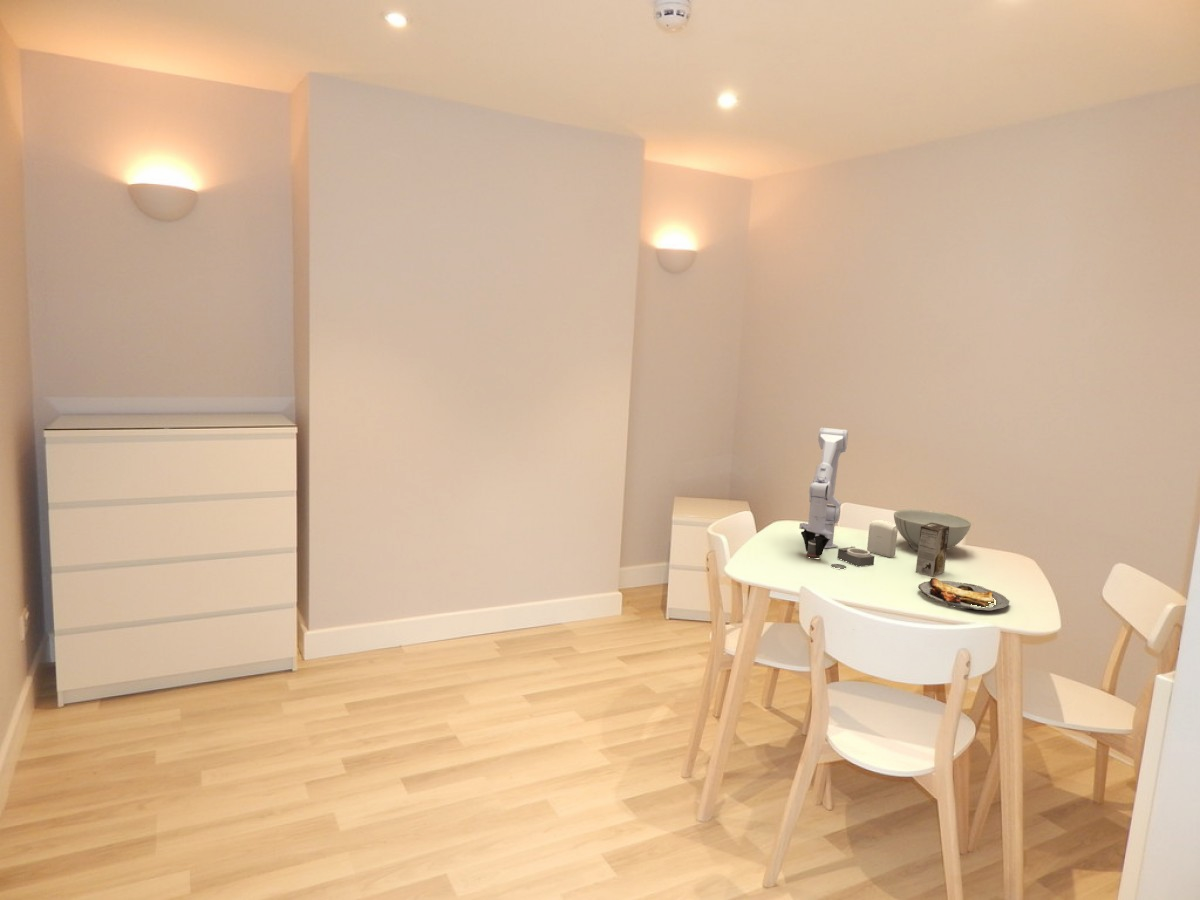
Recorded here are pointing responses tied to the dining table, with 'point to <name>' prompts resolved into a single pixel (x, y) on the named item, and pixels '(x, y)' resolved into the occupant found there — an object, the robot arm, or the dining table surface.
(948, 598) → the food plate
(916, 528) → the decorative bowl
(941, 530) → the coffee box
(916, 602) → the dining table surface
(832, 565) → the lens cap
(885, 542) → the photo printer
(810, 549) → the lens
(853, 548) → the camera body
